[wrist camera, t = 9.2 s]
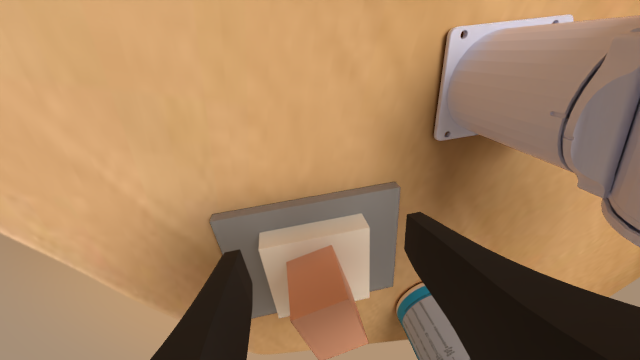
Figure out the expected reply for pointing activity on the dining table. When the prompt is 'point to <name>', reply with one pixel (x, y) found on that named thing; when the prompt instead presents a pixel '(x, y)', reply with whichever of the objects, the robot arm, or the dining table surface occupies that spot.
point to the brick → (323, 304)
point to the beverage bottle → (428, 327)
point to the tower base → (307, 212)
